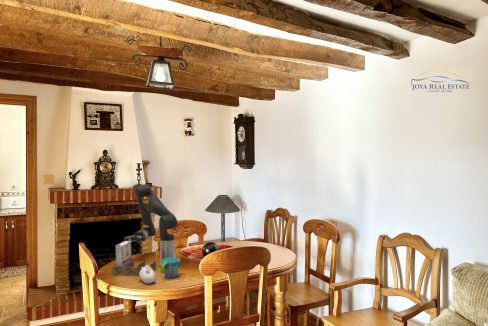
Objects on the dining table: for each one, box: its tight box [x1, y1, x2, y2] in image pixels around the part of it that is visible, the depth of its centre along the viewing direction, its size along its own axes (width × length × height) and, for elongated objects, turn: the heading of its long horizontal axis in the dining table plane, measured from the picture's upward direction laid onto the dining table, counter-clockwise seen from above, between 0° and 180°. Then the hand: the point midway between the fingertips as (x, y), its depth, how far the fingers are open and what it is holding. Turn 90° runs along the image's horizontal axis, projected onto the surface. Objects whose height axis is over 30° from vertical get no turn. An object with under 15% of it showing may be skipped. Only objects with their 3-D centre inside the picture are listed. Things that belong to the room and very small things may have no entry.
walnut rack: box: [111, 259, 157, 277], centre depth 230 cm, size 23×15×5 cm, turn 84°
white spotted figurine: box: [138, 264, 157, 284], centre depth 212 cm, size 10×8×15 cm
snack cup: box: [160, 256, 182, 279], centre depth 221 cm, size 16×10×10 cm
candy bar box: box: [115, 240, 132, 267], centre depth 231 cm, size 11×5×16 cm, turn 170°
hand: (131, 240), depth 244 cm, fingers open, 8 cm apart
